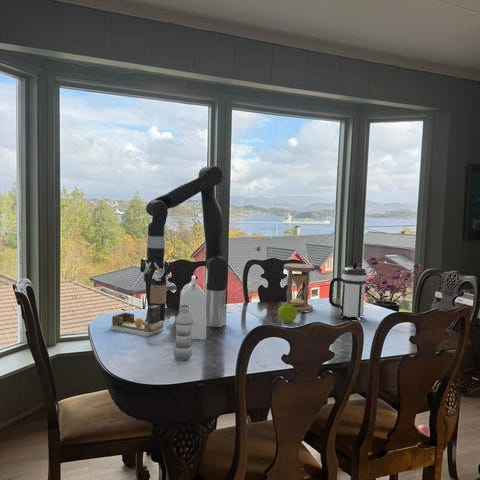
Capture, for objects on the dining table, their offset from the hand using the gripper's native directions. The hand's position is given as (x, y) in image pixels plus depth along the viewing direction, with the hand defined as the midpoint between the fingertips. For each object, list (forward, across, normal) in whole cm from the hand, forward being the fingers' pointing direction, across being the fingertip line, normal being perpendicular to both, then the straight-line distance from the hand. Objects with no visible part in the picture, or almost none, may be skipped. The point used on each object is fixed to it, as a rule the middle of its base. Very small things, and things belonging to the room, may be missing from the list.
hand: (154, 283), depth 203 cm
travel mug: (+22, +12, -20) cm, 32 cm away
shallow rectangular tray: (+22, +9, 0) cm, 24 cm away
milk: (+22, -16, -6) cm, 28 cm away
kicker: (+20, 0, 0) cm, 20 cm away
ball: (+19, +8, 0) cm, 20 cm away
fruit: (+22, -44, -52) cm, 72 cm away
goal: (+21, +17, 0) cm, 26 cm away
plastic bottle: (+22, -29, +22) cm, 43 cm away
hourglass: (+22, -38, -83) cm, 94 cm away
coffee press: (+22, -68, -80) cm, 108 cm away
